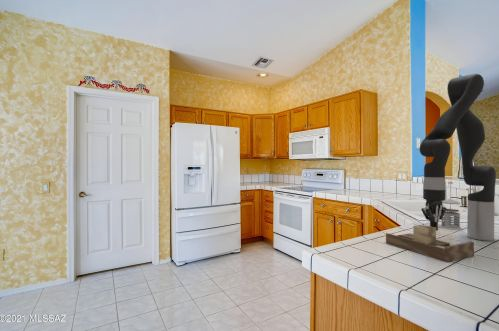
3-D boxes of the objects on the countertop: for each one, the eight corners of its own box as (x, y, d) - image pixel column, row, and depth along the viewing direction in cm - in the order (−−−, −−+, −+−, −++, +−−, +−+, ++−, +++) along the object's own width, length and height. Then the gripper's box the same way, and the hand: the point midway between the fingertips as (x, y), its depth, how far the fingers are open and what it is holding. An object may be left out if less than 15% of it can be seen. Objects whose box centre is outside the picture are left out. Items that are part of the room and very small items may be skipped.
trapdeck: (410, 238, 117) (410, 227, 117) (474, 255, 95) (474, 242, 95) (385, 242, 110) (386, 231, 110) (447, 262, 88) (448, 247, 88)
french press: (467, 230, 133) (467, 182, 134) (444, 230, 134) (444, 182, 134) (452, 225, 143) (452, 181, 143) (431, 225, 143) (431, 180, 144)
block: (422, 238, 108) (422, 224, 108) (435, 242, 103) (436, 227, 103) (413, 240, 106) (413, 225, 106) (427, 244, 101) (427, 228, 101)
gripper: (433, 189, 99) (433, 234, 99) (454, 188, 105) (453, 231, 104) (414, 188, 106) (414, 229, 106) (434, 187, 111) (434, 227, 111)
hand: (434, 230), depth 105 cm, fingers closed
